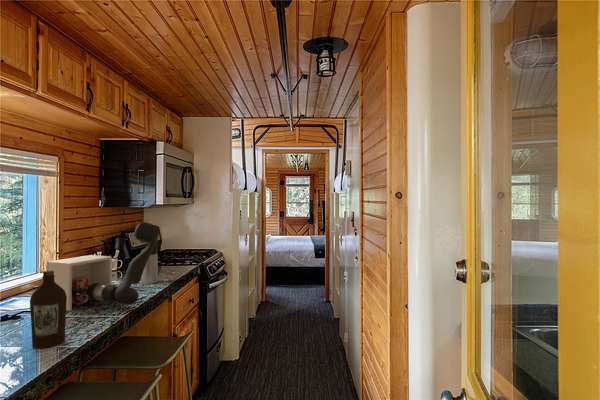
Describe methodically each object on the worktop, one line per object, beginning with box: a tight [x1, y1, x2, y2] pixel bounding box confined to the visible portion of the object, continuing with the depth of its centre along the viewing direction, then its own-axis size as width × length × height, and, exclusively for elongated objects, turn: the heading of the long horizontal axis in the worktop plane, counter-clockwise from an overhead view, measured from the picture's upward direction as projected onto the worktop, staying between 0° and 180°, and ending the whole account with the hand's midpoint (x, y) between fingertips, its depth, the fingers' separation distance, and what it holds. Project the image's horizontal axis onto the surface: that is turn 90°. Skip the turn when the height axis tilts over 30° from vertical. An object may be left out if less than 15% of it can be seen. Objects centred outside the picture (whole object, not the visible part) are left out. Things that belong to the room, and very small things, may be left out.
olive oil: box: [29, 270, 67, 349], centre depth 129 cm, size 11×11×25 cm
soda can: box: [72, 277, 89, 305], centre depth 181 cm, size 7×7×12 cm
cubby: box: [46, 254, 113, 312], centre depth 180 cm, size 15×22×21 cm
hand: (77, 288), depth 181 cm, fingers closed on soda can, 7 cm apart
